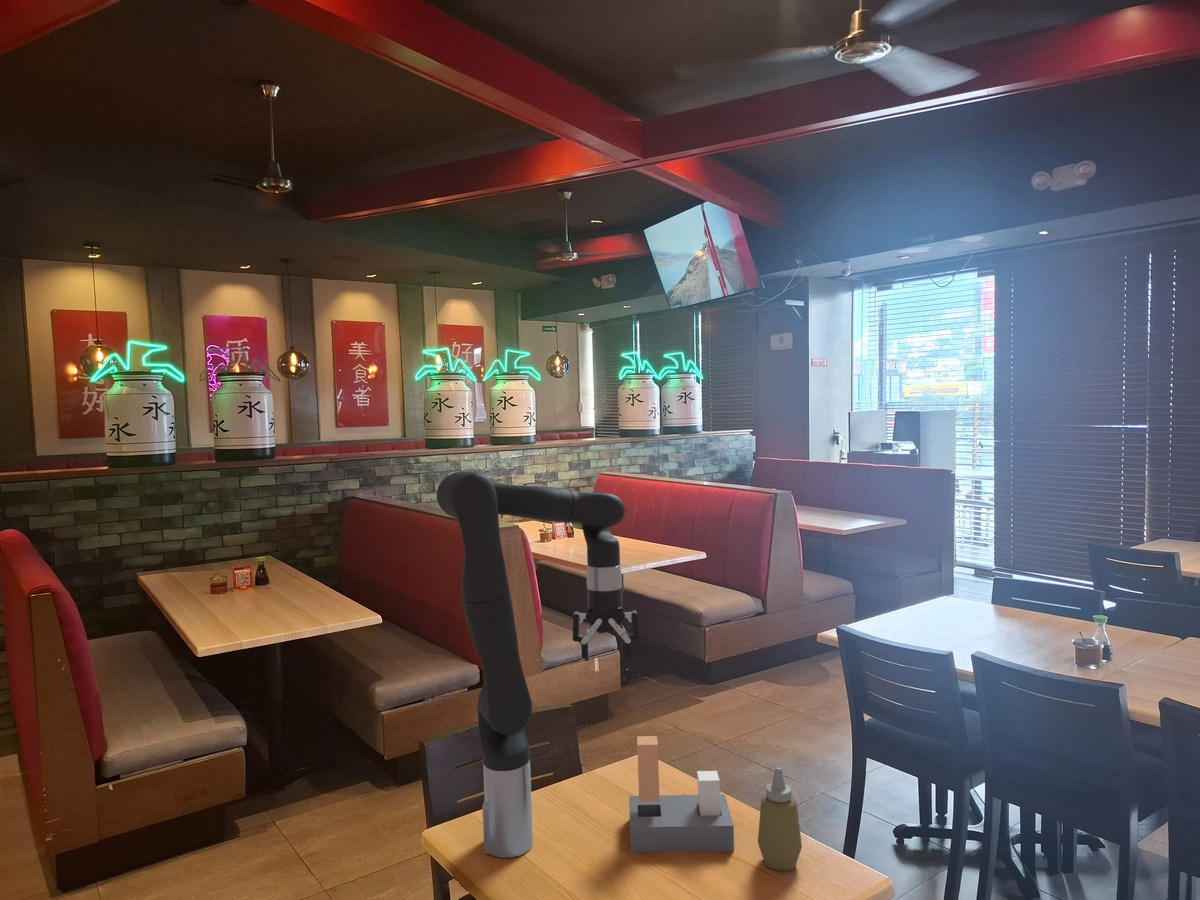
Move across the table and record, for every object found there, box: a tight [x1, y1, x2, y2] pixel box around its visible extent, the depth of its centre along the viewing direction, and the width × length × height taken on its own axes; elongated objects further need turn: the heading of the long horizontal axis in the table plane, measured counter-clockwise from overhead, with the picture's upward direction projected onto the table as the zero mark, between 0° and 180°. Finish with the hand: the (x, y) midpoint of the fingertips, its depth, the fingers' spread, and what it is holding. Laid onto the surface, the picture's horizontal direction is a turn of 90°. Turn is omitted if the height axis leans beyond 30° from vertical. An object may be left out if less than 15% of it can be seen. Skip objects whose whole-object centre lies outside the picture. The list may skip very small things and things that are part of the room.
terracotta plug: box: [636, 735, 660, 802], centre depth 152 cm, size 4×4×12 cm
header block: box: [628, 793, 735, 853], centre depth 153 cm, size 20×12×5 cm, turn 89°
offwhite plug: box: [696, 770, 721, 816], centre depth 152 cm, size 4×4×12 cm
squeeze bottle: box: [757, 767, 803, 872], centre depth 142 cm, size 8×8×18 cm
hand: (606, 659), depth 164 cm, fingers open, 8 cm apart
